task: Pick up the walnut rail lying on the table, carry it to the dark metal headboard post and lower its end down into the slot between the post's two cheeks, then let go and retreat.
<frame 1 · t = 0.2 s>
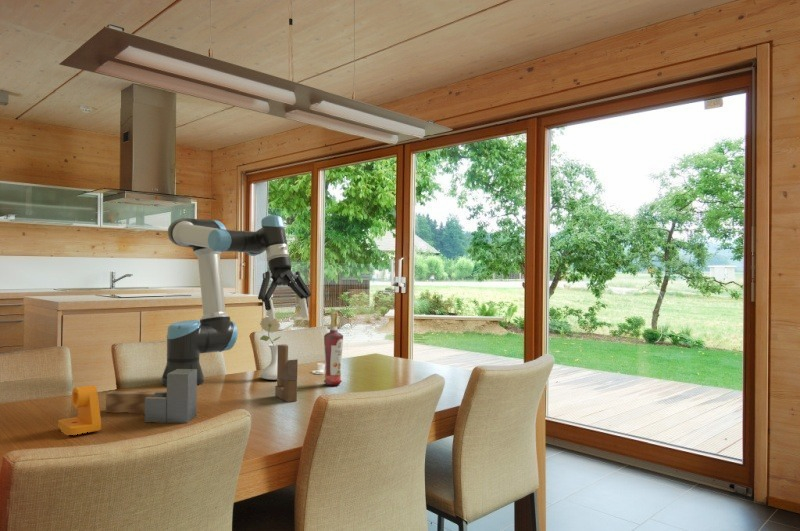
hand: (289, 318, 194), 28 cm above the table, tool tilted 20°, fingers open, 13 cm apart
bracket: (78, 432, 155), on the table
headboard post: (164, 418, 168), on the table
wooden block: (285, 399, 196), on the table
teacup and saucer: (314, 374, 243), on the table
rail: (141, 412, 176), on the table
liquor: (332, 385, 219), on the table
flower in vase: (272, 379, 229), on the table
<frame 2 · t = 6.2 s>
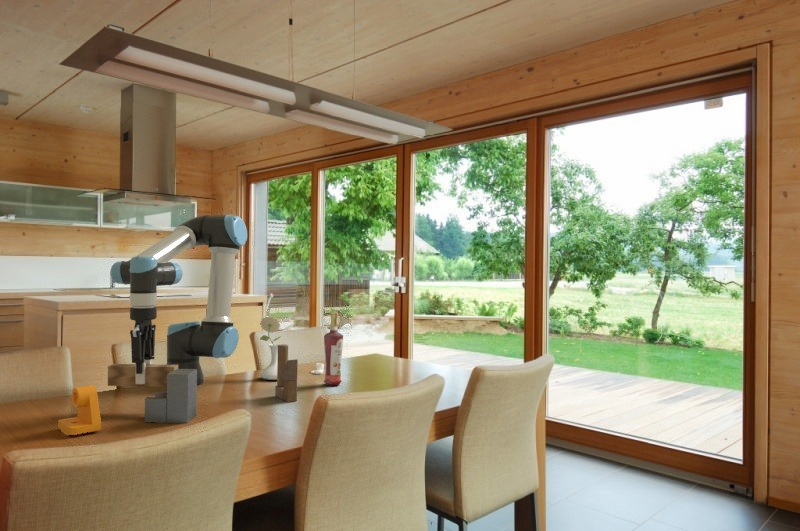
hand: (143, 382, 176), 9 cm above the table, tool pointing down, fingers closed on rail, 3 cm apart
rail: (143, 384, 176), point 8 cm above the table, touching gripper
everything else where it was.
when the fingers open (0 cm above the table, at t = 9.8 s): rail stays where it is, on the table.
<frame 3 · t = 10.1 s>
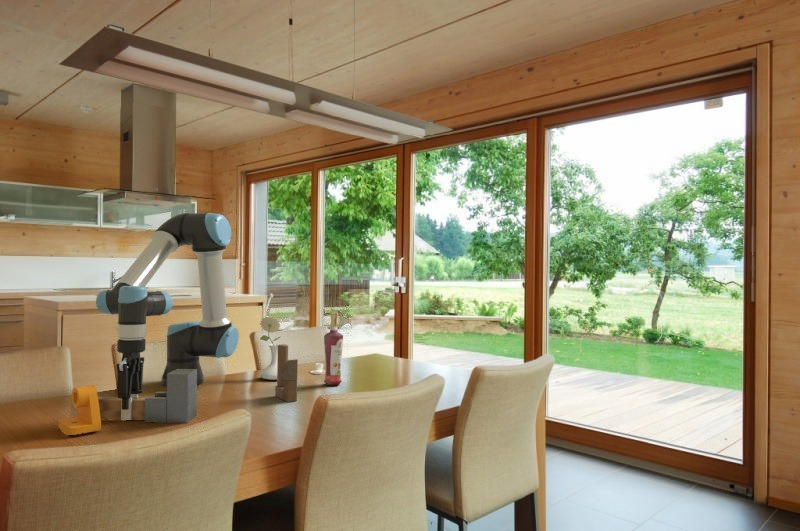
hand: (129, 418, 168), 0 cm above the table, tool pointing down, fingers open, 4 cm apart
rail: (129, 419, 168), on the table
everything else where it was.
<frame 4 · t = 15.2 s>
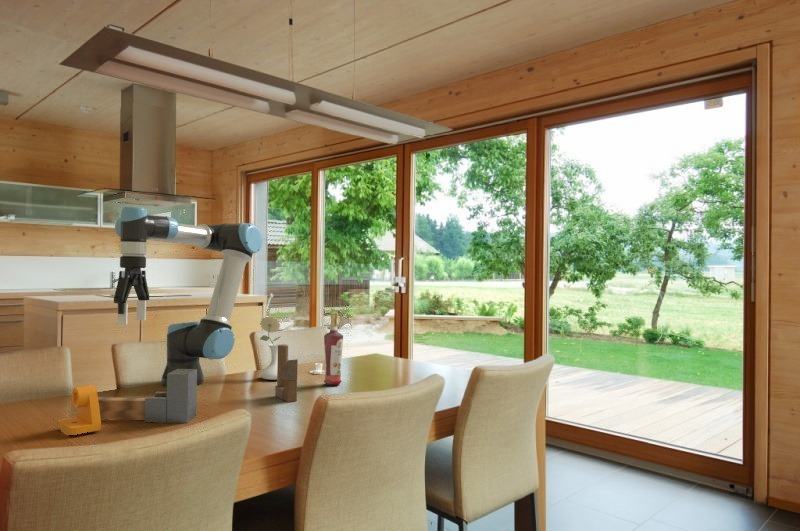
hand: (132, 322, 182), 27 cm above the table, tool pointing down, fingers open, 13 cm apart
at the end: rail 0.2 cm from the target spot on the table beside the headboard post, on the table; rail tilted 0°; the gripper is holding nothing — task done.
